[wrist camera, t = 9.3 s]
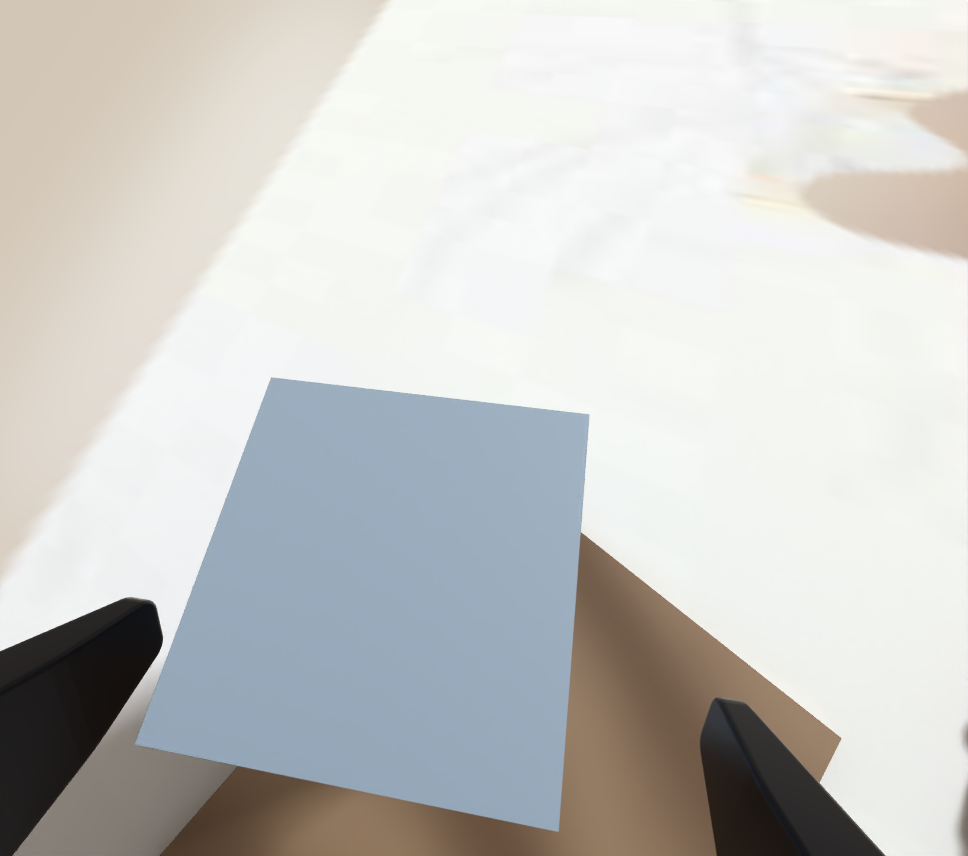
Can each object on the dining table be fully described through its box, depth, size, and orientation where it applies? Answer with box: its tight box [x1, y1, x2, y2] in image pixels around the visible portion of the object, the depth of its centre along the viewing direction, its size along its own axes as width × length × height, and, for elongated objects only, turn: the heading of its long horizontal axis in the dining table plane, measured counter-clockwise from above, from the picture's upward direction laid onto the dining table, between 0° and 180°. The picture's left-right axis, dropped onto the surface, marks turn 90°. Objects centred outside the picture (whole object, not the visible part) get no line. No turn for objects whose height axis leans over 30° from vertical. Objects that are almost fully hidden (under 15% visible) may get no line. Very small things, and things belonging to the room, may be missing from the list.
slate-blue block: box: [135, 378, 589, 832], centre depth 11 cm, size 4×4×13 cm
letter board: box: [160, 533, 841, 856], centre depth 15 cm, size 19×14×1 cm
